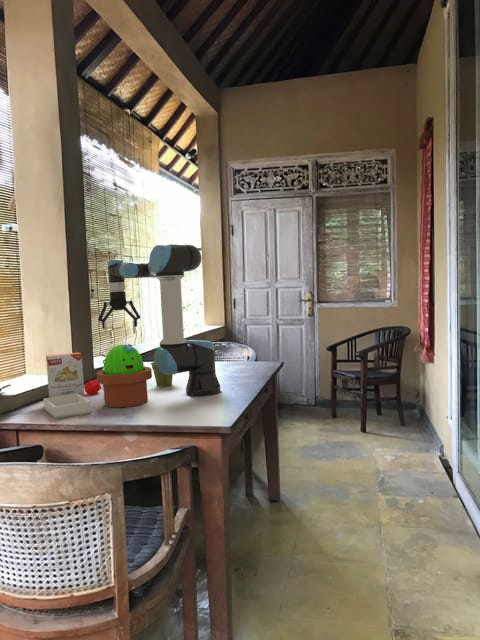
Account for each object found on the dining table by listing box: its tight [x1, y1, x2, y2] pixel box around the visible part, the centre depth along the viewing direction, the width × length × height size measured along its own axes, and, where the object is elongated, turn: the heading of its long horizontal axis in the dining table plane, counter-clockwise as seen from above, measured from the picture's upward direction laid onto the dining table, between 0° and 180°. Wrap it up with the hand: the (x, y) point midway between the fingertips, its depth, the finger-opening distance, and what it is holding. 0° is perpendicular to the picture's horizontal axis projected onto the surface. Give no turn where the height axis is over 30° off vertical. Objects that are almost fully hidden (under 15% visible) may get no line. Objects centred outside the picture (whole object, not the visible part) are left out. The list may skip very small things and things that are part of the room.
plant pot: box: [149, 361, 174, 388], centre depth 242 cm, size 12×12×11 cm
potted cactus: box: [96, 343, 153, 409], centre depth 207 cm, size 22×22×25 cm
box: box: [43, 393, 92, 420], centre depth 199 cm, size 20×13×4 cm, turn 32°
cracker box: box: [45, 352, 86, 398], centre depth 215 cm, size 14×6×21 cm, turn 118°
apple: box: [84, 379, 102, 396], centre depth 231 cm, size 7×7×8 cm
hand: (120, 334), depth 247 cm, fingers open, 13 cm apart
